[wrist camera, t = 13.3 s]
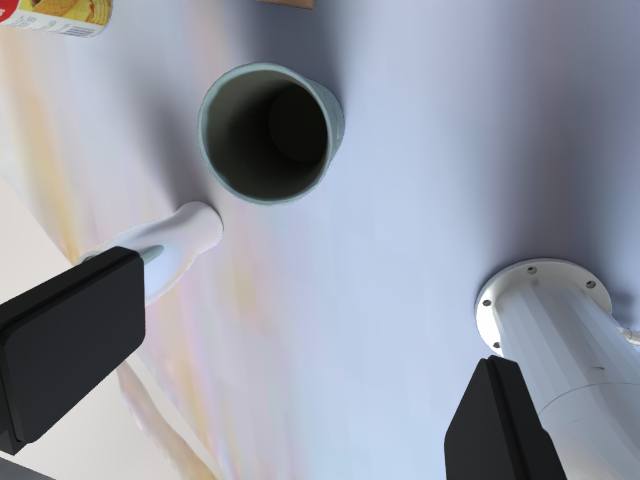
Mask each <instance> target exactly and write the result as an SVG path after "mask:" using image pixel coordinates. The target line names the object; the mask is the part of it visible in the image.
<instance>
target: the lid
mask: <svg viewBox="0 0 640 480" xmlns="http://www.w3.org/2000/svg"><path fill="white" fill-rule="evenodd" d="M254 1H260V2H267V3H273V4H279V5H285V6H292V7H298V8H304V9H310V10H314V9H315V2H316V0H254Z"/></svg>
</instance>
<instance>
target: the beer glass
mask: <svg viewBox="0 0 640 480" xmlns="http://www.w3.org/2000/svg"><path fill="white" fill-rule="evenodd" d="M222 235H223V225H222V221H221V219H220V217H219V215H218V214H217V212H216V211H215V210H214V209H213V208H212V207H210V206H209V205H207V204H205V203H202V202H198V201H192V202H188V203H185V204H184V205H182V206H181V207H180V208H179V209H178V210H177V211H176V212H175V213H174V214H172V215H171V216H169V217H166V218H162V219H158V220H154V221H150V222H147V223H143V224H140V225H137V226H134V227H131V228H129V229H127V230H124V231H122V232H120V233H118V234H116V235H115V236H113V237H111V238H109V239H108V240H106V241H105V242H103V243H101V244H100V245H98V246H97V247H95V248H94V249H92V250H91V251H89V252H87V253H85V254H84V255H82V256H81V257H80V258H79V260H78V262H77V264H76V266H77V265H79V264H81V263H83V262H85V261H87V260H88V259H90V258H92V257H94V256H96V255H98V254H100V253H102V252H104V251H106V250H108V249H110V248H112V247H114V246H121V247H125V248H128V249H132V250H135V251H137V252H139V254H140V257H141V258H142V259H143V261H144V284H145V308H146V307H148V306H149V305H151V304H152V303H154V302H155V301H157V300H158V299H159V298H160V297H162V296H163V295H164V294H166V293H167V292H168V291H169V290H170V289H171V288H172V287H173V286H174V285H175V284H176V283H177V282H178V281H179V280H180V279H181V278H182V276H183V275H184V274H185V273H186V271H187V270H188V269H189V267H190V266H191V264H192V263H193V262H194V260H195V259H196V258H197V256H198V255H199V254H201V253H202V252H204V251H206V250H209V249H211V248H213V247H214V246H216V245H217V244H218V243H219V242H220V240H221V238H222Z"/></svg>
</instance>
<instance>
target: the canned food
mask: <svg viewBox="0 0 640 480" xmlns="http://www.w3.org/2000/svg"><path fill="white" fill-rule="evenodd" d="M112 8H113V0H0V25H3V26H10V27H17V28H24V29H31V30H37V31H44V32H51V33H58V34H64V35H71V36H78V37H93V36H95V35H97V34H99V33H101V32H102V31H103V30H104V29H105V27H106V26H107V24H108V22H109V20H110V18H111V13H112Z"/></svg>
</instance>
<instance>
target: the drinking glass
mask: <svg viewBox="0 0 640 480" xmlns="http://www.w3.org/2000/svg"><path fill="white" fill-rule="evenodd" d="M343 135H344V116H343V113H342V109H341V107H340V104H339V102H338V101H337V99H336V98H335V96H334V95H333V94H332V93H331V92H330V91H329V90H328V89H327V88H326V87H324V86H323V85H321V84H319V83H317V82H315V81H313V80H311V79H307V78H305V77H304V76H302V75H300V74H299V73H297V72H295V71H293V70H292V69H290V68H287V67H285V66H282V65H279V64H275V63H271V62H255V63H250V64H246V65H242V66H239V67H236V68H234V69H232V70H230V71H229V72H227V73H225V74H223V75H222V76H221V77H220V78H219V79H218V80H217V81H216V82H215V83H214V84H213V85H212V86H211V88H210V89H209V90H208V92H207V94H206V95H205V97H204V100H203V102H202V105H201V108H200V112H199V117H198V140H199V145H200V149H201V153H202V156H203V159H204V161H205V163H206V165H207V166H208V168H209V170H210V172H211V174H212V175H213V176H214V178H215V179H216V180H217V181H218V182H219V183H220V184H221V185H222V186H223V187H224V188H225V189H226V190H227V191H229V192H230V193H231V194H233V195H234V196H236V197H237V198H239V199H241V200H243V201H245V202H248V203H251V204H255V205H259V206H280V205H286V204H290V203H293V202H295V201H298V200H300V199H301V198H303V197H304V196H306V195H307V194H309V193H310V192H311V191H312V190H313V189H314V188H315V187H316V186H317V185H318V184H319V183H320V181H321V180H322V179H323V177H324V176H325V174H326V172H327V170H328V167H329V165H330V163H331V161H332V159H333V157H334V156H335V154H336V152H337V150H338V149H339V147H340V145H341V142H342V139H343Z"/></svg>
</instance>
